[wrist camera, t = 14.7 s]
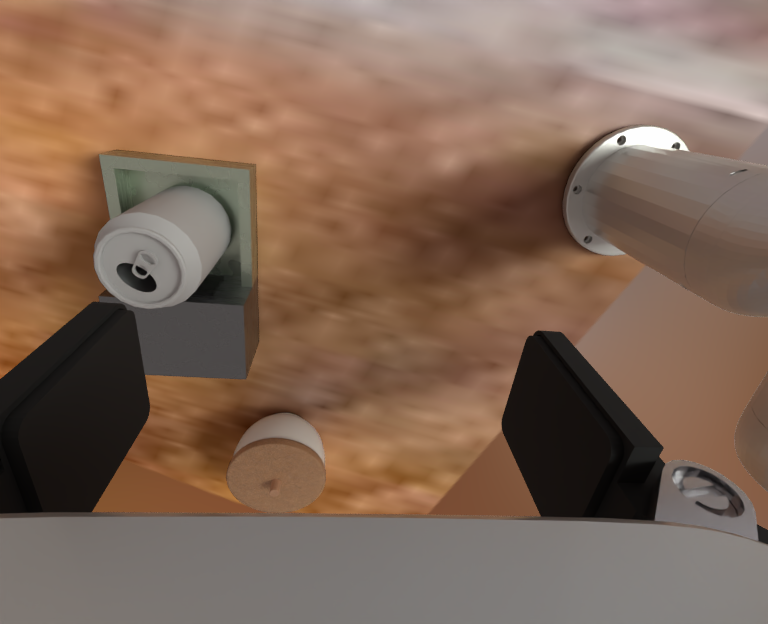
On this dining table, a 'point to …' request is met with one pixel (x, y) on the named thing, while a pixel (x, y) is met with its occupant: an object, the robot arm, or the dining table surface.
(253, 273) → the frame
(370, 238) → the dining table surface
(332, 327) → the dining table surface
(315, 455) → the lidded jar
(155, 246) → the can
